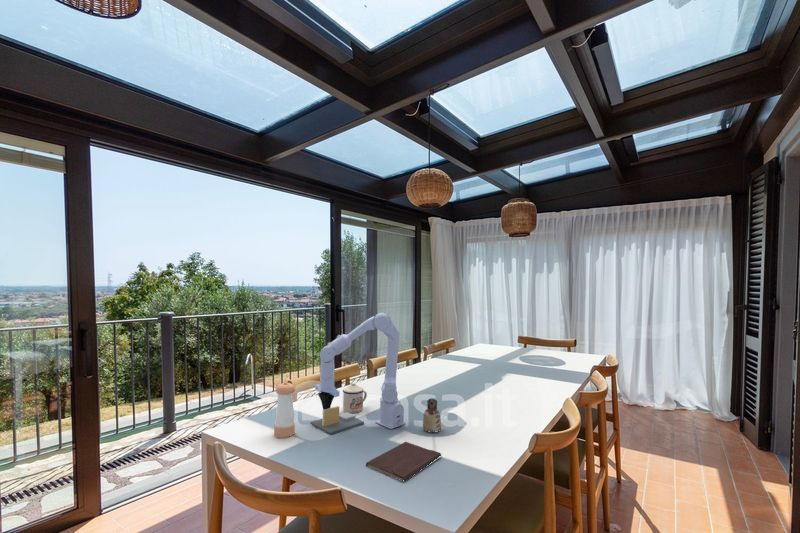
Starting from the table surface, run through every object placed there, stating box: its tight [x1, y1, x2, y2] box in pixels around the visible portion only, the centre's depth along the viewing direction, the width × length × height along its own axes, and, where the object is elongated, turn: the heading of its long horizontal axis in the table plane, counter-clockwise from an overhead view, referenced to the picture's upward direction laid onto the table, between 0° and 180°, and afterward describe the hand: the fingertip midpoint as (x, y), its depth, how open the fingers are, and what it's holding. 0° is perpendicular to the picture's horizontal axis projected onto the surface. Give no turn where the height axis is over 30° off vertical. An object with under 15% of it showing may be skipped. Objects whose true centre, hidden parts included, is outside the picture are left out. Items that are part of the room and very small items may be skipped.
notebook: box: [365, 441, 442, 482], centre depth 119 cm, size 15×20×2 cm
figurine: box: [422, 397, 442, 432], centre depth 146 cm, size 7×7×12 cm
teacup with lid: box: [342, 382, 368, 414], centre depth 167 cm, size 12×9×12 cm
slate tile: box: [339, 411, 356, 422], centre depth 154 cm, size 6×5×1 cm
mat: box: [309, 412, 365, 436], centre depth 150 cm, size 14×16×1 cm
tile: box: [321, 405, 340, 426], centre depth 148 cm, size 1×7×6 cm, turn 134°
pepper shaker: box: [273, 381, 296, 439], centre depth 140 cm, size 7×7×19 cm
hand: (326, 410), depth 150 cm, fingers closed
